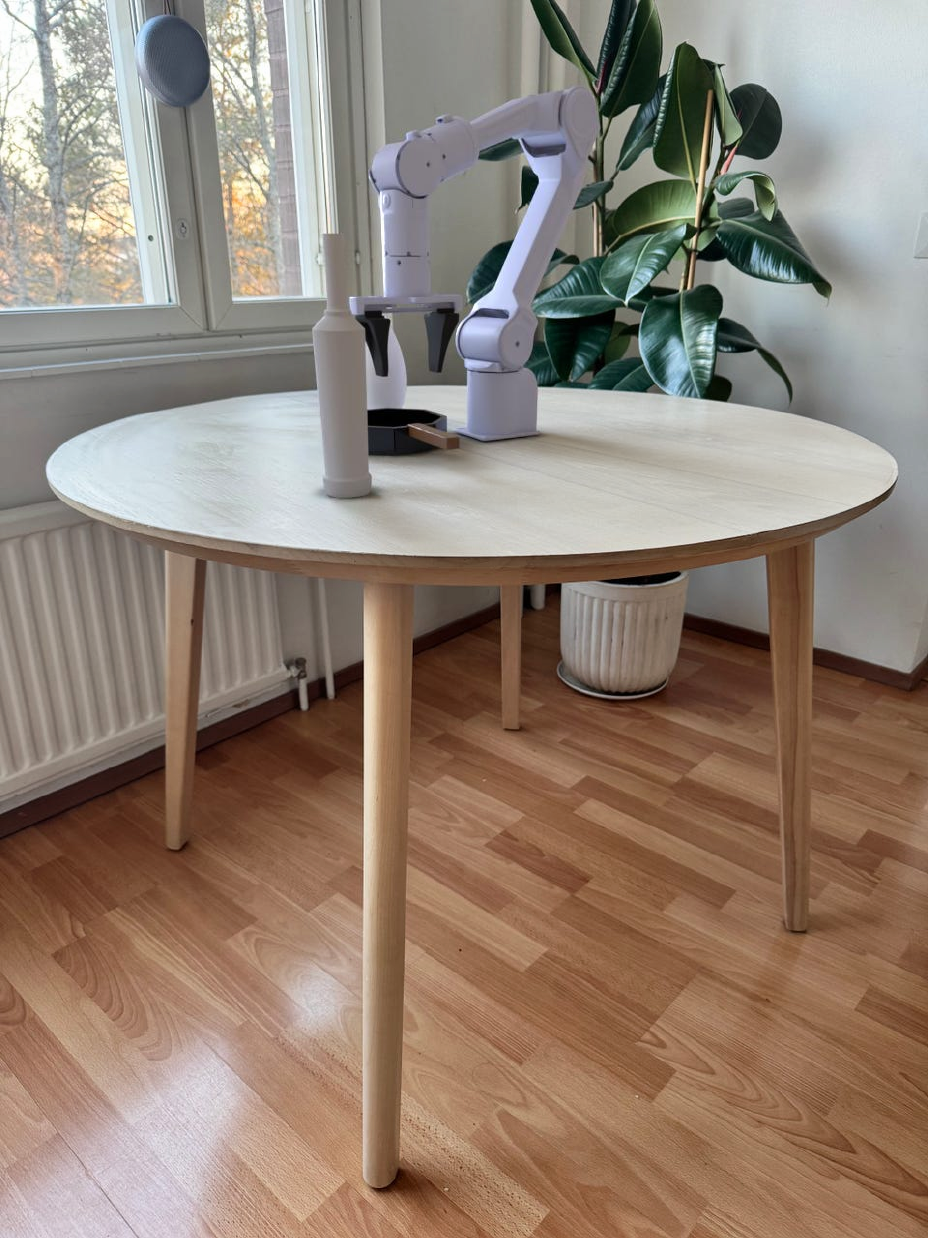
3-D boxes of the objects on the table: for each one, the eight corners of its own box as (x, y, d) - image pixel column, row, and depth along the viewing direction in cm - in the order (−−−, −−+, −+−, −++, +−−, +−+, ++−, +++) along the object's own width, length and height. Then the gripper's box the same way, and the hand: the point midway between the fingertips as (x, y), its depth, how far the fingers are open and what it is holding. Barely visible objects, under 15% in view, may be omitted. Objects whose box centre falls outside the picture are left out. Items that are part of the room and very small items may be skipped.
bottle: (325, 486, 91) (307, 234, 81) (372, 485, 91) (361, 234, 81) (321, 499, 86) (302, 232, 76) (372, 497, 86) (359, 233, 76)
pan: (413, 429, 120) (412, 403, 119) (502, 461, 102) (503, 431, 100) (322, 439, 113) (320, 412, 112) (400, 476, 95) (399, 443, 93)
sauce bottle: (352, 420, 127) (345, 293, 119) (402, 418, 128) (399, 293, 121) (358, 430, 120) (351, 296, 112) (412, 427, 121) (408, 295, 114)
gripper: (365, 256, 93) (370, 381, 98) (475, 256, 100) (474, 373, 105) (339, 256, 98) (346, 374, 104) (446, 256, 105) (446, 367, 111)
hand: (409, 373), depth 105 cm, fingers open, 7 cm apart
